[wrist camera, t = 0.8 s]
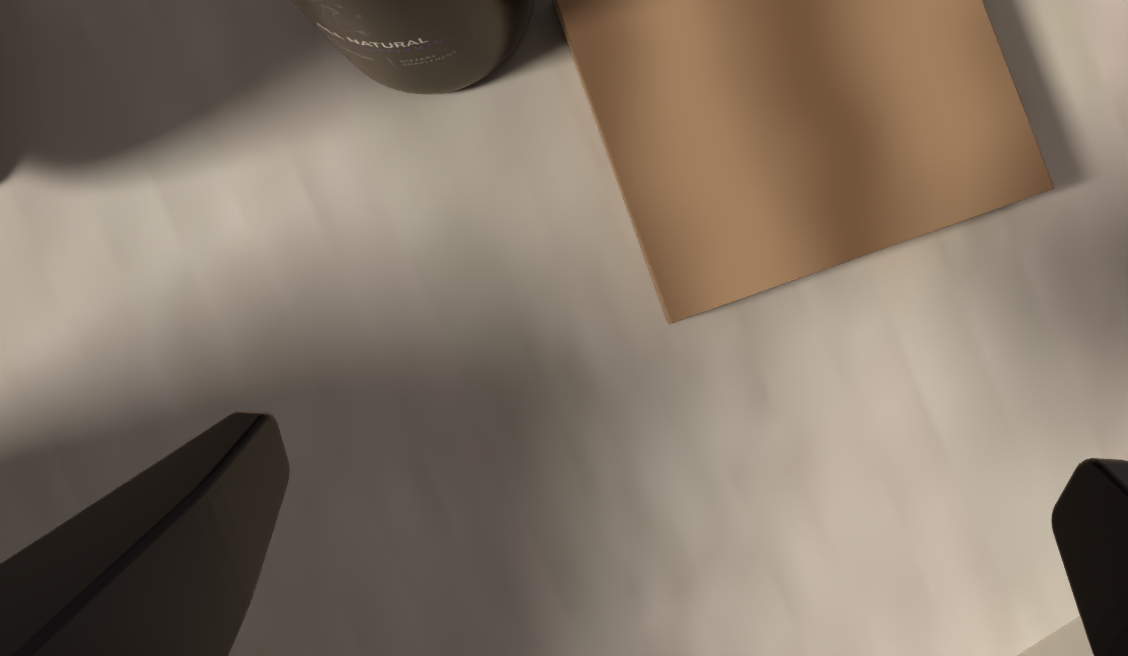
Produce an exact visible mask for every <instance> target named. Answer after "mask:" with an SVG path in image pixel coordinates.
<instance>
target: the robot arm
mask: <svg viewBox="0 0 1128 656" xmlns="http://www.w3.org/2000/svg"><path fill="white" fill-rule="evenodd" d="M288 480H289V462H288V459H287V455H286V452H285V448H284V445H283V441H282V438H281V434H280V431H279V427H278V424H277V421H276V419H275V418H274V417H273V415H271V414H269V413H266V412H248V411H239V412H235V413H232V414H231V415H229V416H227V417H226V418H224V419H223V420H221V421H220V422H218V423H216V424H215V425H213V426H212V427H210V428H209V429H207V430H206V431H204V432H203V433H201V434H200V435H198V436H196V437H195V438H193V439H192V440H190V441H189V442H187V443H186V444H184V445H183V446H181V447H180V448H178V449H176V450H175V451H173V452H172V453H170V454H169V455H167V456H166V457H164V458H163V459H161V460H160V461H158V462H156V463H155V464H153V465H152V466H150V467H149V468H147V469H146V470H144V471H143V472H141V473H140V474H138V475H136V476H135V477H133V478H132V479H130V480H129V481H127V482H126V483H124V484H123V485H121V486H120V487H118V488H116V489H115V490H113V491H112V492H110V493H109V494H107V495H106V496H104V497H103V498H101V499H100V500H98V501H96V502H95V503H93V504H92V505H90V506H89V507H87V508H86V509H84V510H83V511H81V512H80V513H78V514H76V515H75V516H73V517H72V518H70V519H69V520H67V521H66V522H64V523H63V524H61V525H60V526H58V527H56V528H55V529H53V530H52V531H50V532H49V533H47V534H46V535H44V536H43V537H41V538H40V539H38V540H36V541H35V542H33V543H32V544H30V545H29V546H27V547H26V548H24V549H23V550H21V551H20V552H18V553H16V554H15V555H13V556H12V557H10V558H9V559H7V560H6V561H4V562H3V563H1V564H0V656H228V655H229V652H230V650H231V648H232V645H233V643H234V641H235V639H236V636H237V634H238V632H239V629H240V627H241V625H242V622H243V620H244V617H245V615H246V612H247V610H248V607H249V605H250V602H251V599H252V597H253V594H254V591H255V588H256V585H257V582H258V578H259V575H260V572H261V569H262V565H263V562H264V559H265V556H266V552H267V549H268V546H269V543H270V540H271V536H272V533H273V530H274V527H275V523H276V520H277V517H278V514H279V510H280V507H281V504H282V501H283V497H284V494H285V491H286V488H287V484H288ZM1052 529H1053V533H1054V536H1055V539H1056V543H1057V546H1058V549H1059V552H1060V555H1061V558H1062V561H1063V564H1064V567H1065V570H1066V574H1067V577H1068V580H1069V583H1070V586H1071V589H1072V592H1073V595H1074V598H1075V601H1076V605H1077V608H1078V611H1079V614H1080V617H1081V620H1082V623H1083V626H1084V629H1085V632H1086V636H1087V639H1088V642H1089V644H1090V647H1091V650H1092V653H1093V655H1094V656H1128V461H1125V460H1116V459H1098V458H1090V459H1086V460H1084V461H1083V462H1081V463H1080V464H1079V465H1078V466H1077V467H1076V469H1075V471H1074V473H1073V474H1072V476H1071V478H1070V480H1069V481H1068V483H1067V485H1066V487H1065V488H1064V490H1063V492H1062V494H1061V495H1060V497H1059V499H1058V501H1057V503H1056V504H1055V506H1054V509H1053V513H1052Z"/></svg>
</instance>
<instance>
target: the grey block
mask: <svg viewBox="0 0 1128 656" xmlns="http://www.w3.org/2000/svg"><path fill="white" fill-rule="evenodd" d="M1017 656H1094V655H1093V653H1092V650H1091V647H1090V644H1089V642H1088V639H1087V636H1086V632H1085V629H1084V626H1083V623H1082V620H1081V617H1080V616H1079V617H1078V618H1076V619H1074V620H1073V621H1071V622H1070V623H1068V624H1067V625H1065V626H1063V627H1062V628H1060V629H1059V630H1057V631H1055V632H1054V633H1052V634H1051V635H1049V636H1047V637H1046V638H1044V639H1043V640H1041V641H1040V642H1038V643H1036V644H1035V645H1033V646H1032V647H1030V648H1028V649H1027V650H1025V651H1024V652H1022V653H1020V654H1019V655H1017Z"/></svg>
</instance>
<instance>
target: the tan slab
mask: <svg viewBox="0 0 1128 656" xmlns="http://www.w3.org/2000/svg"><path fill="white" fill-rule="evenodd" d="M553 3H554V6H555V9H556V12H557V14H558V17H559V20H560V23H561V25H562V28H563V31H564V34H565V37H566V39H567V42H568V45H569V48H570V51H571V53H572V56H573V59H574V62H575V65H576V67H577V70H578V73H579V76H580V79H581V81H582V84H583V87H584V90H585V92H586V95H587V98H588V101H589V104H590V106H591V109H592V112H593V115H594V118H595V120H596V123H597V126H598V129H599V132H600V134H601V137H602V140H603V143H604V146H605V148H606V151H607V154H608V157H609V159H610V162H611V165H612V168H613V171H614V173H615V176H616V179H617V182H618V185H619V187H620V190H621V193H622V196H623V199H624V201H625V204H626V207H627V210H628V213H629V215H630V218H631V221H632V224H633V226H634V229H635V232H636V235H637V238H638V240H639V243H640V246H641V249H642V252H643V254H644V257H645V260H646V263H647V266H648V268H649V271H650V274H651V277H652V280H653V282H654V285H655V288H656V291H657V294H658V296H659V299H660V302H661V305H662V307H663V310H664V313H665V316H666V319H667V321H668V324H670V323H673V322H676V321H679V320H682V319H685V318H687V317H690V316H693V315H696V314H699V313H702V312H704V311H707V310H710V309H713V308H716V307H719V306H721V305H724V304H727V303H730V302H733V301H736V300H739V299H741V298H744V297H747V296H750V295H753V294H756V293H758V292H761V291H764V290H767V289H770V288H773V287H776V286H778V285H781V284H784V283H787V282H790V281H793V280H795V279H798V278H801V277H804V276H807V275H810V274H812V273H815V272H818V271H821V270H824V269H827V268H830V267H832V266H835V265H838V264H841V263H844V262H847V261H849V260H852V259H855V258H858V257H861V256H864V255H867V254H869V253H872V252H875V251H878V250H881V249H884V248H886V247H889V246H892V245H895V244H898V243H901V242H903V241H906V240H909V239H912V238H915V237H918V236H921V235H923V234H926V233H929V232H932V231H935V230H938V229H940V228H943V227H946V226H949V225H952V224H955V223H958V222H960V221H963V220H966V219H969V218H972V217H975V216H977V215H980V214H983V213H986V212H989V211H992V210H994V209H997V208H1000V207H1003V206H1006V205H1009V204H1012V203H1014V202H1017V201H1020V200H1023V199H1026V198H1029V197H1031V196H1034V195H1037V194H1040V193H1043V192H1046V191H1048V190H1051V189H1054V186H1053V184H1052V181H1051V178H1050V176H1049V173H1048V171H1047V168H1046V165H1045V163H1044V160H1043V158H1042V155H1041V153H1040V150H1039V147H1038V145H1037V142H1036V140H1035V137H1034V134H1033V132H1032V129H1031V127H1030V124H1029V121H1028V119H1027V116H1026V114H1025V111H1024V108H1023V106H1022V103H1021V101H1020V98H1019V95H1018V93H1017V90H1016V88H1015V85H1014V82H1013V80H1012V77H1011V75H1010V72H1009V69H1008V67H1007V64H1006V62H1005V59H1004V56H1003V54H1002V51H1001V49H1000V46H999V44H998V41H997V38H996V36H995V33H994V31H993V28H992V25H991V23H990V20H989V18H988V15H987V12H986V10H985V7H984V5H983V2H982V0H553Z"/></svg>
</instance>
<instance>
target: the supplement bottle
mask: <svg viewBox="0 0 1128 656" xmlns="http://www.w3.org/2000/svg"><path fill="white" fill-rule="evenodd" d="M292 1H293V3H294V4H295V5H296V6H297V7H298V8H299V9H300V10H301V11H302V12H303V13H304V14H305V15H306V16H307V17H308V18H309V19H310V20H311V21H312V22H313V23H314V24H315V25H316V26H317V28H318V29H319V30H320V31H321V32H322V33H323V34H324V35H325V36H326V37H327V38H328V39H329V40H330V41H331V42H332V43H333V44H334V45H335V46H336V47H337V48H338V49H339V50H340V51H341V52H342V53H343V54H344V55H345V56H346V57H347V58H348V59H349V60H350V61H351V62H352V63H353V64H354V65H355V66H356V67H357V68H359V69H360V70H361V71H362V72H364V73H365V74H366V75H368V76H369V77H370V78H372V79H374V80H375V81H377V82H379V83H381V84H383V85H385V86H387V87H390V88H393V89H396V90H399V91H403V92H407V93H415V94H441V93H447V92H451V91H455V90H459V89H462V88H464V87H467V86H469V85H471V84H473V83H475V82H477V81H479V80H481V79H482V78H484V77H486V76H487V75H488V74H490V73H491V72H492V71H494V70H495V69H496V68H497V67H498V66H499V65H500V64H501V63H502V62H503V61H504V60H505V59H506V58H507V57H508V56H509V55H510V53H511V52H512V51H513V49H514V48H515V46H516V45H517V43H518V41H519V40H520V38H521V36H522V34H523V32H524V30H525V28H526V25H527V22H528V20H529V17H530V13H531V9H532V4H533V0H292Z"/></svg>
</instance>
